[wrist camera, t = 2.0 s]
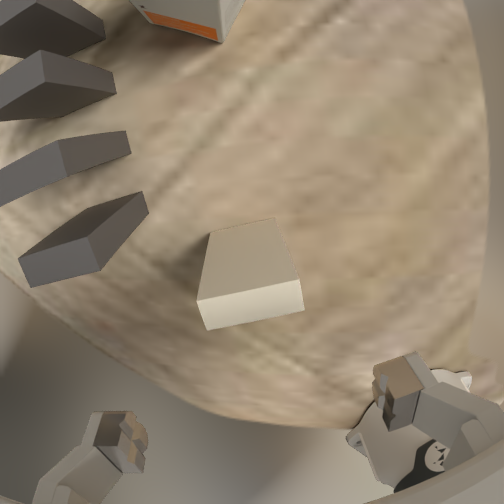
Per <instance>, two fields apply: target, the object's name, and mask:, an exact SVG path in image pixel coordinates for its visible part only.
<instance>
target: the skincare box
mask: <svg viewBox="0 0 504 504" xmlns="http://www.w3.org/2000/svg"><path fill="white" fill-rule="evenodd" d="M129 1H130V2H131V3H132V4H133V5H134V6H135V7H136V8H137V10H138V11H139V12H140V13H141V14H142V15H143V16H144V17H145V18H146V19H147V20H148V22H149V23H151V24H156V25H161V26H165V27H169V28H174V29H178V30H182V31H186V32H189V33H192V34H196V35H199V36H202V37H205V38H208V39H211V40H214V41H217V42H220V43H223V42H224V41H225V39H226V36H227V34H228V32H229V30H230V29H231V27H232V25H233V23H234V21H235V19H236V17H237V15H238V13H239V11H240V9H241V8H242V6H243V4H244V2H245V0H129Z"/></svg>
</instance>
